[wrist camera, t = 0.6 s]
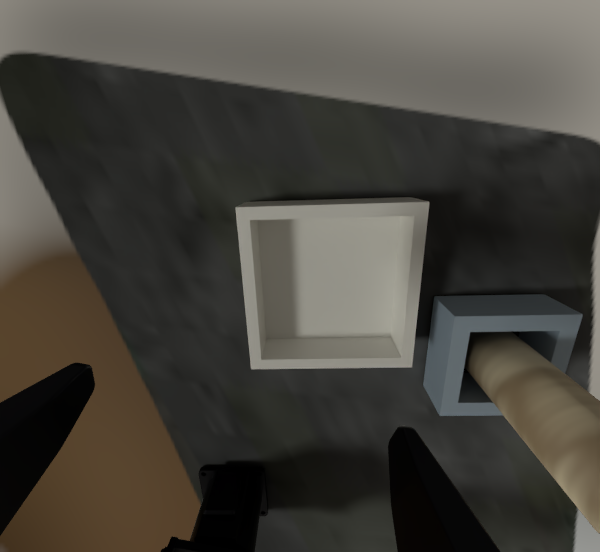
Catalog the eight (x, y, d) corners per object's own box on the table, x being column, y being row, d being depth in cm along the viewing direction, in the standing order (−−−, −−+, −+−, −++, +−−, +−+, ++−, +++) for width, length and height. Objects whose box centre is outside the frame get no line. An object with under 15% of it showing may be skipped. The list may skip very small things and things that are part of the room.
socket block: (521, 384, 26) (552, 415, 23) (423, 385, 26) (439, 415, 23) (544, 294, 24) (583, 314, 20) (434, 296, 24) (454, 316, 20)
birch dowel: (502, 364, 26) (681, 542, 13) (449, 365, 26) (578, 542, 14) (512, 317, 24) (723, 468, 12) (456, 318, 24) (608, 469, 12)
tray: (398, 341, 25) (411, 367, 22) (258, 343, 26) (251, 369, 22) (410, 197, 21) (429, 201, 18) (246, 201, 22) (235, 207, 18)
